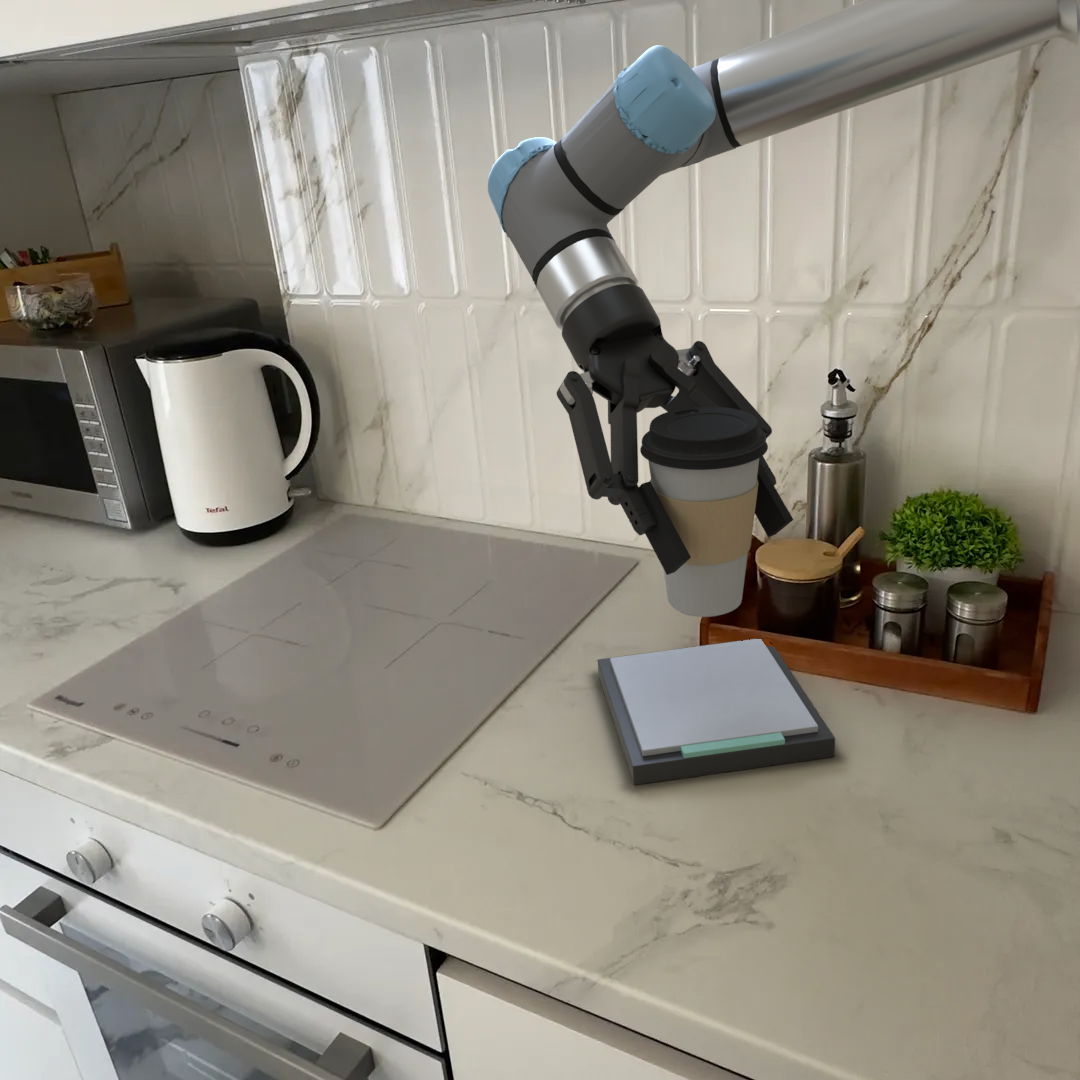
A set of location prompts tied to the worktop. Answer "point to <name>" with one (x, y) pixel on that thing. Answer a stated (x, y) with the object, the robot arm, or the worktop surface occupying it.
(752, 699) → the kitchen scale
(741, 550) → the coffee cup
